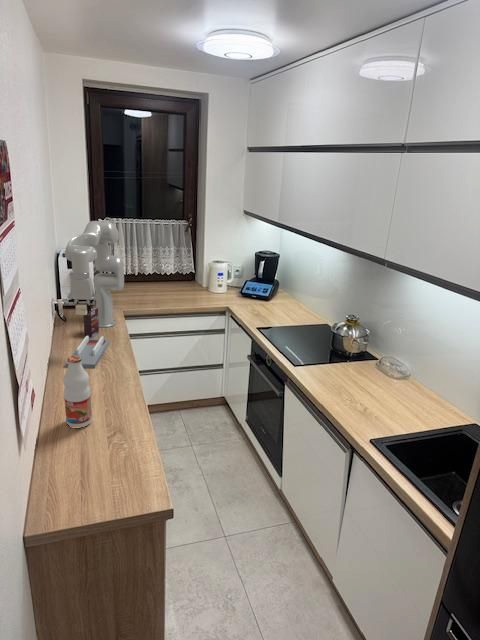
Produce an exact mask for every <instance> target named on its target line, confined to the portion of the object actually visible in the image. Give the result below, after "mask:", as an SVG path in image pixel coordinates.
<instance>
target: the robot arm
mask: <svg viewBox="0 0 480 640" xmlns="http://www.w3.org/2000/svg"><path fill="white" fill-rule="evenodd" d="M119 239H120V233H119V230H118V228H117V227H116V226H115V224H114V223H113V222H110V221H102V220H91V221H89V222H87V224H86V226H85V228H84V231H83V232H82V233H81V234H79V235H76V236H75V237H72V238H71V239H70V240H69V241H68V242H67V245H66V247H65V250H64V256H65V258H66V260H67V261H69V262H71V269H72V272H70V273H69V276H70V277H71V278H70V287H69V293H68V295H67V296H66V298H67V299H68V300H70V301H71V302H72V303H73V304H74V307H75V310H76V305H77V304H78V303H79V302H80V301H79V300H85V301H86V302H87V303H88V305H87V312H88V313H89V312H90V311H91V307H92V304H93V303H94V302H95V304H96V305H95V308H98V320H99V328H110V327H113V326H115V325H116V324H117V321H116V320H115V319H114V303H113V302H114V301H113V299H114V298H113V295H112V292H111V291H120V290H123V289H124V287H125V267H124V266H125V265H124V260H123V258H122V256H120V255H111V254H110V251H111V250H110V245H109V244H116V243H118V241H119ZM92 262H94V267H95V269H96V271H98V272H99V273H96V274H95V275H94V276H93V279H92V278H91V276H90V264H89V263H92ZM102 272H103V273H102Z"/></svg>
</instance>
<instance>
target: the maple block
mask: <svg viewBox="0 0 480 640" xmlns="http://www.w3.org/2000/svg"><path fill="white" fill-rule="evenodd" d="M78 302H79V303H78V304H77V305H76V309H75V315H76V316H83V315H86V314H87V313H88V312H87V305H88V303H87V301H78Z"/></svg>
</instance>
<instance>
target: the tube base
mask: <svg viewBox="0 0 480 640" xmlns="http://www.w3.org/2000/svg"><path fill="white" fill-rule="evenodd" d="M110 343H111V340H110V339H105V338H104V336H103V335H102V336H100V338H92V339H90V338H89V336H86V337H84V338H83V339H82V341H81V342H80V343H79V344H78V346H77V347H76V348H75V350H73V353H72V354H71V355H70V356H73V355H79V356H81V358H82V362H81V364H82V366H83V369H96V367H97V366H98V364H99V362H100V360H101V359H102V357H103V355H104V353H106V350H107V348H108V347H109V345H110ZM68 365H69V363H68V360H67V361H66V362H65V368H68Z"/></svg>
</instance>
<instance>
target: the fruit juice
mask: <svg viewBox="0 0 480 640" xmlns="http://www.w3.org/2000/svg"><path fill="white" fill-rule="evenodd" d="M67 361H68V363H69V365H68V367H67V369H66V372H65V374H64V375H63V379H62V380H63V385H64V391H63V397H64V409H65V420H66V421H65V422H66V425H67V424H68V425H69V426H71V427H83V426H86V425H88V424H90V425H91V423H92V422H91V421H93V415H92V413H93V412H92V411H93V410H92V398H91V397H92V396H91V395H92V394H91V389H90V385H89V382H90V376H89V374H88V372H87V371H86V370H85V368H83V366H82V364H81V362H82V358H81V356H79V355H73V356H71V355H70V356H68V357H67ZM68 425H67V426H68ZM69 426H68V427H69ZM88 426H89V425H88Z"/></svg>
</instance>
